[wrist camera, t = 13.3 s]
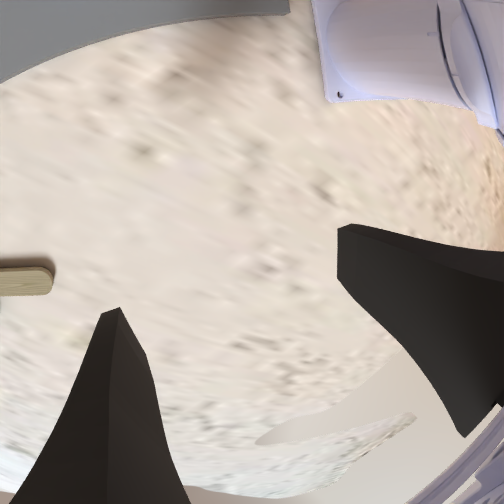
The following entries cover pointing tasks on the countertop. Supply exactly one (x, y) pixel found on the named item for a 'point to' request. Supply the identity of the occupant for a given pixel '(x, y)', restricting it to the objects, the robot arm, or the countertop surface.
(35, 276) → the ice cream bar
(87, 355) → the robot arm
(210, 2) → the mat
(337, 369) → the countertop surface
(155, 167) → the countertop surface
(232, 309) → the countertop surface
